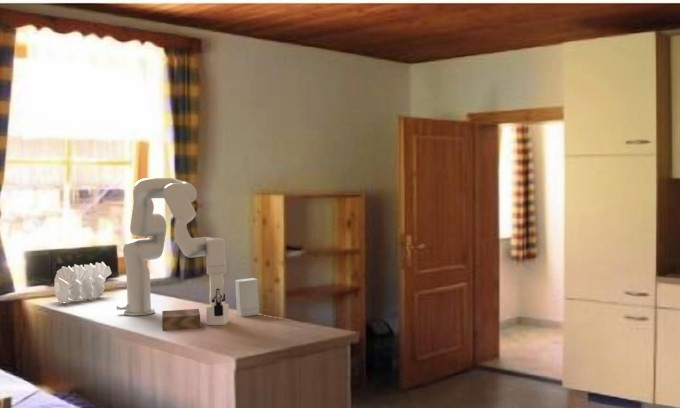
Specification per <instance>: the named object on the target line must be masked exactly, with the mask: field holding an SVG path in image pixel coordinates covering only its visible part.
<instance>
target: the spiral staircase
mask: <svg viewBox="0 0 680 408" xmlns="http://www.w3.org/2000/svg"><path fill="white" fill-rule="evenodd" d="M73 265H74V266H72V267H71V266H70V265H68V266H61V268H60V269H58V270H57V271H56V274H55V277H54V279H53V280H54V285H53V292H54V296H55V297H56V298H57V300H58V302H59V301H60V303H62V302H65V303H66V302H69V300H71V301H73V300H74V301H73V302H75V301H76V302H77V301H79V300H80V299H81V298H82V300H87V299H89V300H90V298H92V297H96V298H97V299H100V297H102V296H104V293H103V292H104V290H105V286H104V283H106V279H107V277H109V276H110V275H112V270H111V268H110V266H109V265H106V264H105V262H104V261H101V262H100V263H99V262H95V264H93V263H89V264H80V265H78V264H73ZM80 297H81V298H80Z"/></svg>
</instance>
